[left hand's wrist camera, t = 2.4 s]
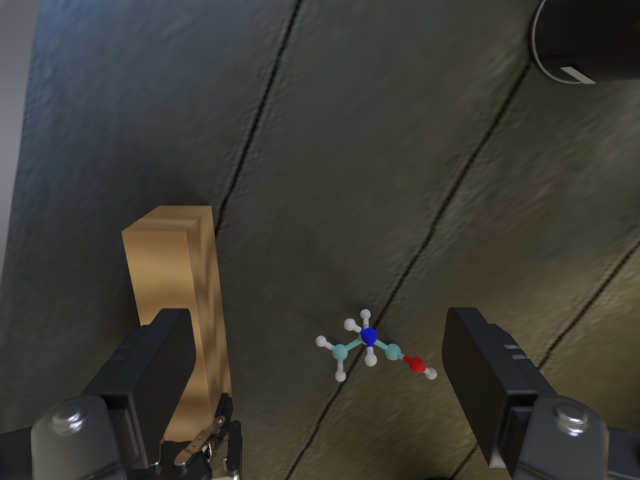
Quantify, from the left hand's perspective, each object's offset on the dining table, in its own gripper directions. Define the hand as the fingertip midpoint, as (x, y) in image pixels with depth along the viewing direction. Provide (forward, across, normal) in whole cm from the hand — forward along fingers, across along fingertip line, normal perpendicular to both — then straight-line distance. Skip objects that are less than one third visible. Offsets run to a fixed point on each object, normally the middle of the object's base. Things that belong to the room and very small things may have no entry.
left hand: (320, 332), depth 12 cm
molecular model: (+29, +6, -19) cm, 35 cm away
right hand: (+25, -14, -27) cm, 40 cm away
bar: (+29, -14, -17) cm, 36 cm away
